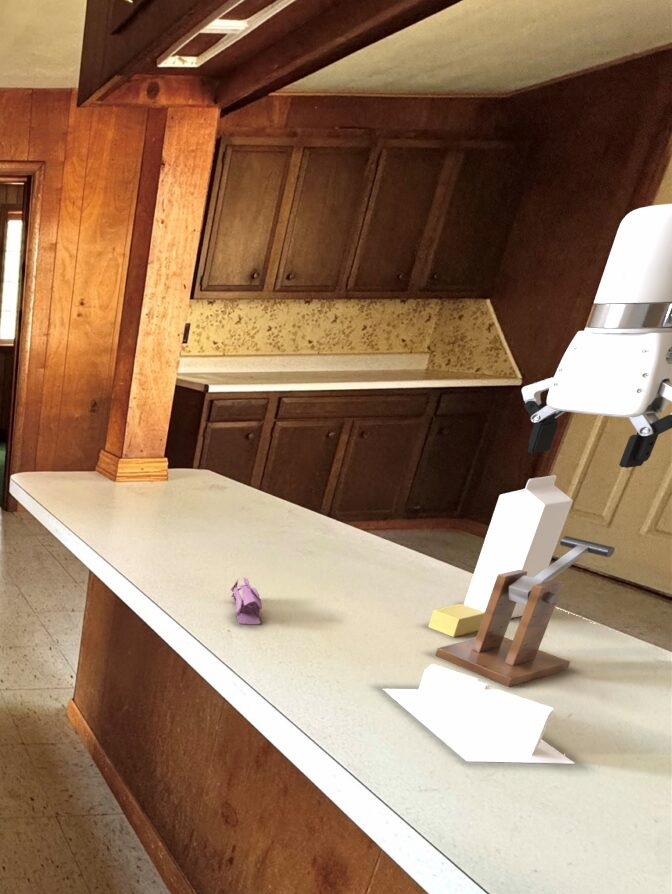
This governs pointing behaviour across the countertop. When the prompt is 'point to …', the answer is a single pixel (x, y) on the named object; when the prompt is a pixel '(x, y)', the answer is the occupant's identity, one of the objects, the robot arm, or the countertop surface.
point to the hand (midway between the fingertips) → (582, 458)
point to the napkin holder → (479, 718)
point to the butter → (456, 620)
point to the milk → (520, 537)
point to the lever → (557, 566)
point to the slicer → (504, 655)
